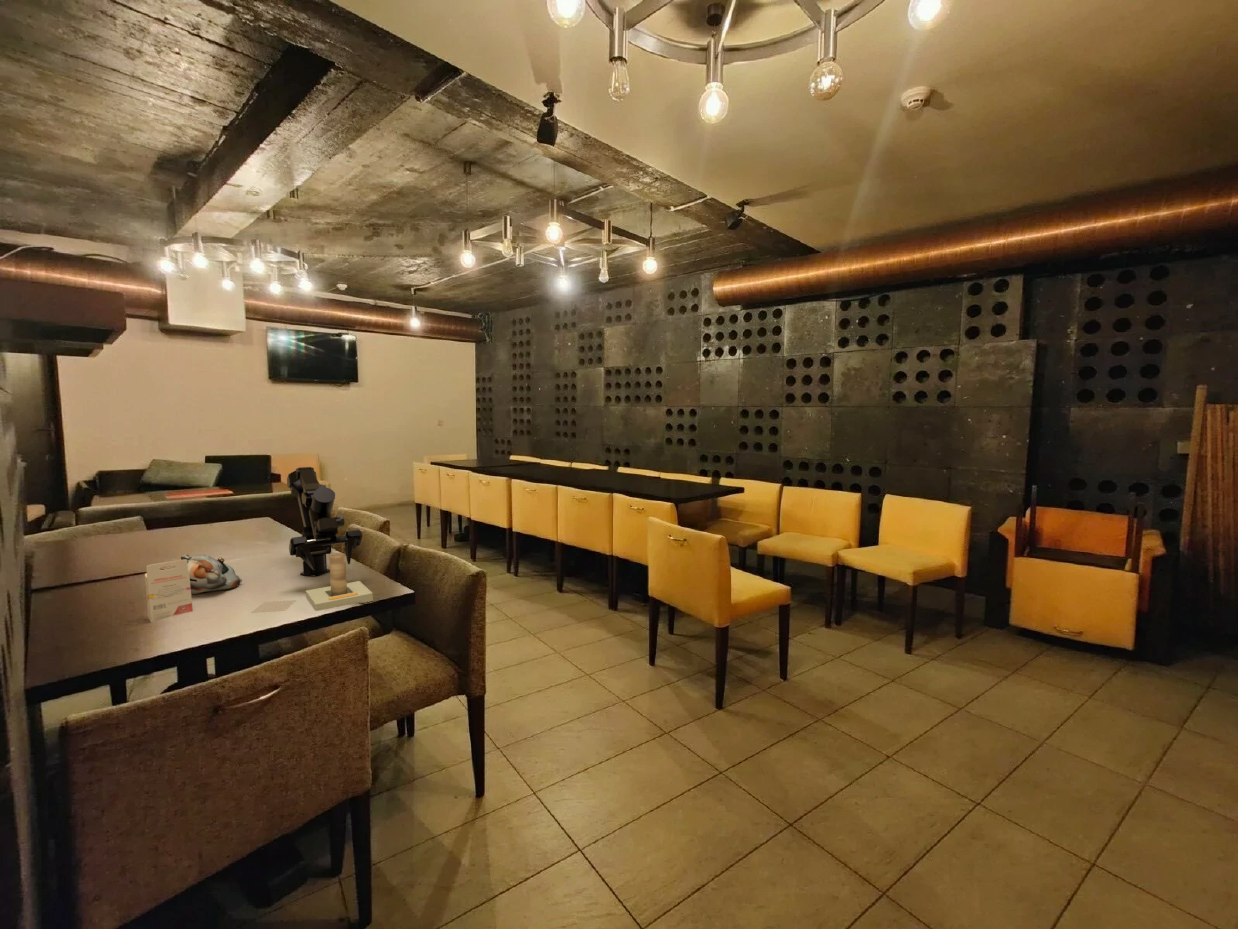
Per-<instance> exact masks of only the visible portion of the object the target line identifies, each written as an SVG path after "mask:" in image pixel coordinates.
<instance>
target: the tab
mask: <svg viewBox="0 0 1238 929" xmlns="http://www.w3.org/2000/svg"><path fill="white" fill-rule="evenodd" d="M295 602H297V599H294V600H293V599H291V600H276V601H264V602H262V603H261V604H260V605H258V606H257V607H256V608H255V609H253V610H252V611H251V612H250V613H251V614H253V613H254V614H255V613H270V612H271V613H272V612H283V611H286V610H288V609H289V608H290V607H291V606H292V605H293V604H294V603H295Z"/></svg>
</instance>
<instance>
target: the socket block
mask: <svg viewBox="0 0 1238 929" xmlns="http://www.w3.org/2000/svg"><path fill="white" fill-rule="evenodd" d="M373 596H374V594H373V592H372V591H371V590H370V589H368V587H367V586H366V585H365V584H363V583H362V581H360V580H357V581H352V582H347V594H343V595H337V596H332V597H331V585H329V586H324V587H319V588H313V589H307V590H305V597H306V599H307V600H308V601H309V603H310V605H311V606H312V607H313V609H314V610H315V611H316V612H317V611H322V610H327V609H333V608H336V607H342V606H346V605H351V604H358V603H360V602H367V601H368V602H369V601H373V602H374V597H373Z"/></svg>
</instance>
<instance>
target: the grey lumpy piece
mask: <svg viewBox="0 0 1238 929" xmlns="http://www.w3.org/2000/svg"><path fill="white" fill-rule="evenodd" d="M183 559H186V560H187V565H188V570H189V576H190V587H191V595H193V596H194V595H196V594H200V593H206V592H215V591H221V590H232V589H233V590H234V589H236V588H237V587H238V586H239V585H240V584H241V583H243V579H242V578H241V577H240V576H239V575H237V574H236V572H235V570H234V568H233V567H232V566H231V565H229V564H227V563H224V562H225V559H224V558H223V557H218V558H217V559H216V558H215V557H213V556H210V555H207V554H197V555H193V556H190V555H189V554H183V555H182V556H181V557H180V560H183ZM237 585H238V586H237Z"/></svg>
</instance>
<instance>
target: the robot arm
mask: <svg viewBox="0 0 1238 929" xmlns="http://www.w3.org/2000/svg"><path fill="white" fill-rule="evenodd" d="M286 486H287V488H289V490H290V494H291V495H292V496H294V497H295V498H297V501H298V507H299V511H300V515H301V518H302V519H301V520H302V524H303V528H302V532H301V536H295V537H291V538H290V540H289V545H288V549H289V550H288V552H289V555H290V556H292V557H293V556H295V557H296V558H300V559H301V560H302V572H300V574H299V575H300V576H308V575H318V576H320V575H321V576H322V575H324V574H326V573H328V572H329V573H330V568H327V567H328V565H327V562H328V561H327V555H331V553H332V546H333V545H337V544H338V545H339V544H344V546H345V548H344V549H345V550H344V551H345V556H346V563H347V564H348V565H350V564H351V559H352V552H353V550H355V549H356V548H357V547H359V546H360V545H361V542H362V538H363V533H362V531H361V530H360V529H351V530H346V532H345V535H341V536H337V535H338V533H339V530H338V529H339V527H341V528H342V527H344V526H345V517H344V514H339V515H335V516H334V517H333V516H332V510H333V508H334V502H335V499H336V492H335V491H334V490H332V489H331V488H329V487H327V486H326V484H322V483H321V484H320V482H319V480H318V476H317V472H316V471H315V469H314V467H311V466H302V467H298V468H295V470H294V471H292V472H290V473H288V475H287V477H286ZM325 572H326V573H325ZM323 573H324V574H323Z"/></svg>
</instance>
